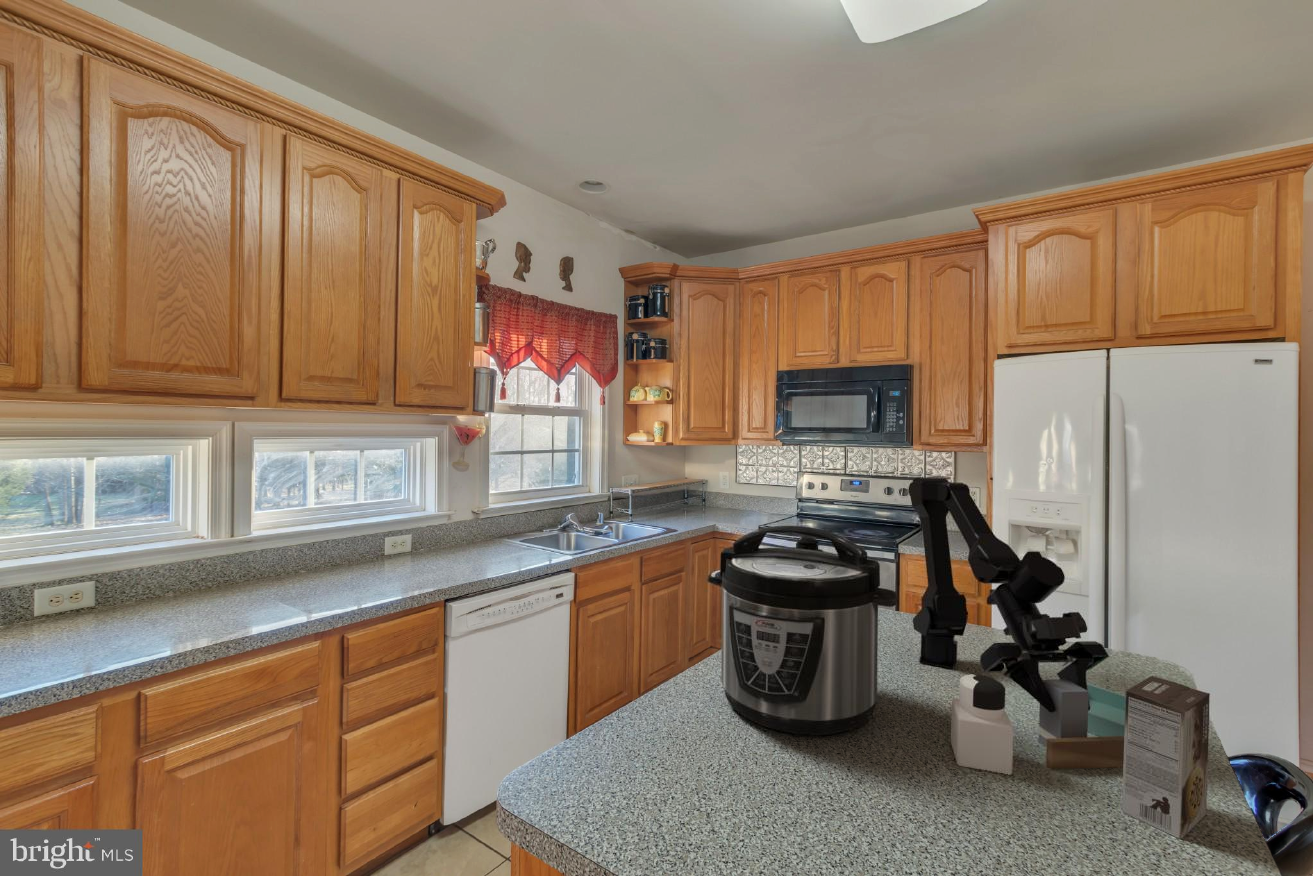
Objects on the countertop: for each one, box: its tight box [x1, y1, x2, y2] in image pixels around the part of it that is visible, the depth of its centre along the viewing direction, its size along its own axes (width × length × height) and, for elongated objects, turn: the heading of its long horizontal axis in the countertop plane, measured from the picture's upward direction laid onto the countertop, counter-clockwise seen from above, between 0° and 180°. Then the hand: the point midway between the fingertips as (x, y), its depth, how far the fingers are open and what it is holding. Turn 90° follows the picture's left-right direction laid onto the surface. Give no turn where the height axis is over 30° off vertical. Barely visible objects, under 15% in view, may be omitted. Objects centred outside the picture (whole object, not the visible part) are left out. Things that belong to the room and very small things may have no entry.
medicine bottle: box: [950, 673, 1014, 776], centre depth 89 cm, size 7×7×12 cm
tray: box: [1086, 682, 1126, 737], centre depth 102 cm, size 14×14×3 cm
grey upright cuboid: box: [1037, 678, 1089, 748], centre depth 92 cm, size 4×4×10 cm
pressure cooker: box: [706, 525, 898, 736], centre depth 106 cm, size 30×28×32 cm
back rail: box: [1045, 736, 1124, 770], centre depth 88 cm, size 1×12×4 cm, turn 96°
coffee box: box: [1121, 675, 1211, 840], centre depth 77 cm, size 9×6×16 cm
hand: (1070, 711), depth 91 cm, fingers open, 5 cm apart
